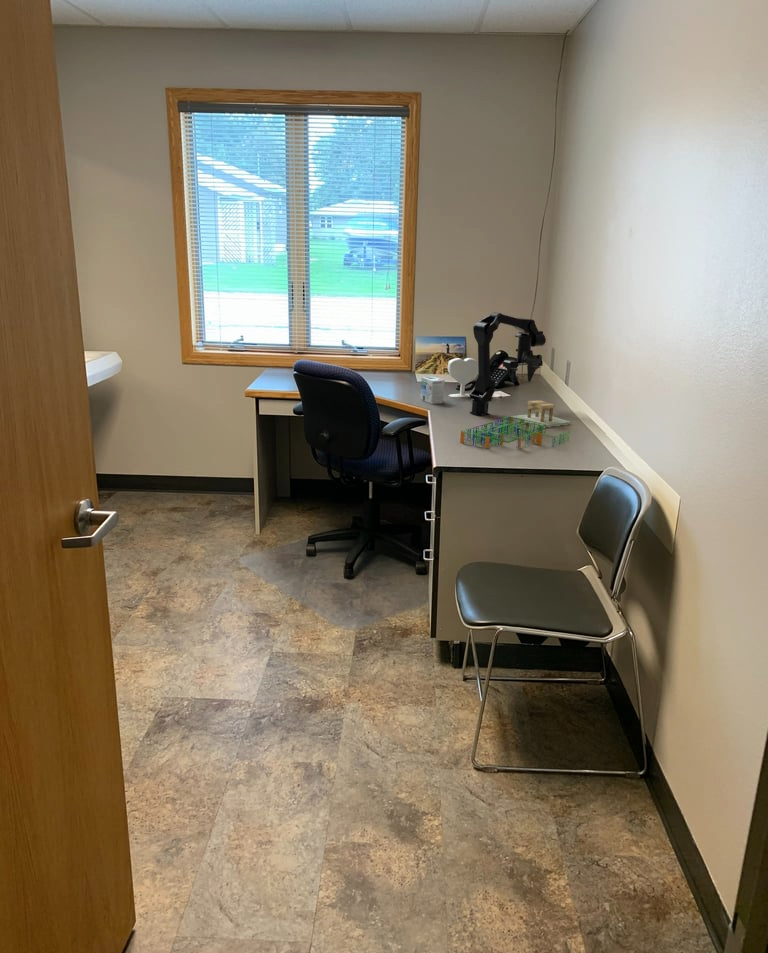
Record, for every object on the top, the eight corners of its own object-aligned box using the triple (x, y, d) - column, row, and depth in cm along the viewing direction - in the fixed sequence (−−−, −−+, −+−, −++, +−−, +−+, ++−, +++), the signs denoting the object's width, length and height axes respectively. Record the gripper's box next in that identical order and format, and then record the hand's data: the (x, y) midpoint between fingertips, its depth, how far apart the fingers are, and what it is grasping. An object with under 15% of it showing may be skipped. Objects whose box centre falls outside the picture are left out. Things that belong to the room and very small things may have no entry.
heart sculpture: (475, 394, 368) (477, 357, 362) (478, 396, 363) (481, 359, 358) (445, 394, 364) (447, 357, 359) (448, 397, 360) (450, 359, 354)
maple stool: (526, 417, 319) (527, 401, 317) (537, 415, 322) (538, 399, 320) (542, 422, 311) (543, 405, 309) (552, 421, 314) (554, 404, 312)
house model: (506, 427, 308) (507, 415, 307) (572, 441, 290) (573, 429, 289) (458, 442, 282) (459, 430, 281) (527, 459, 265) (528, 446, 263)
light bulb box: (419, 399, 352) (420, 376, 349) (432, 398, 355) (433, 375, 352) (431, 404, 343) (432, 380, 340) (443, 403, 346) (445, 380, 343)
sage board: (537, 428, 305) (537, 426, 305) (509, 419, 320) (509, 416, 319) (570, 424, 314) (570, 421, 313) (541, 415, 328) (541, 412, 328)
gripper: (519, 351, 321) (516, 387, 326) (552, 349, 330) (549, 384, 335) (503, 347, 330) (500, 382, 335) (535, 345, 339) (532, 379, 344)
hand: (521, 382), depth 337 cm, fingers open, 9 cm apart
